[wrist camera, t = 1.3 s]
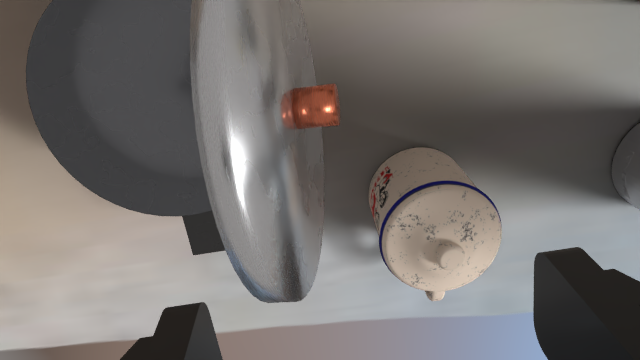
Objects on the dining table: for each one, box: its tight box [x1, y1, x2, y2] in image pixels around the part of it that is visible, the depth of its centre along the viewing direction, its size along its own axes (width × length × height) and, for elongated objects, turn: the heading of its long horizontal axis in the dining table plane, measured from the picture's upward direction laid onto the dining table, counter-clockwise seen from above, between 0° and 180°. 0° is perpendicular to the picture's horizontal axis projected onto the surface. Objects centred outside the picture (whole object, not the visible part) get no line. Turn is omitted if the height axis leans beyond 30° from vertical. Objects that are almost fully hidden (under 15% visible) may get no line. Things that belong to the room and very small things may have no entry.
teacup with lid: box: [369, 147, 502, 301], centre depth 42 cm, size 12×9×12 cm
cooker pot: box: [26, 0, 225, 255], centre depth 37 cm, size 16×24×10 cm, turn 8°
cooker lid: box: [190, 0, 340, 303], centre depth 24 cm, size 17×17×3 cm
